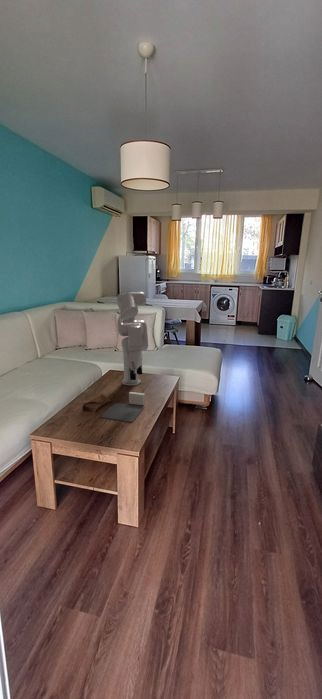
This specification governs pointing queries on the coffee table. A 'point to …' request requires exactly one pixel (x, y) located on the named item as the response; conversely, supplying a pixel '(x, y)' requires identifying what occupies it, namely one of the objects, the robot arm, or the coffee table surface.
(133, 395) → the block
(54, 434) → the coffee table surface
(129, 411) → the mat
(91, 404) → the sunglasses case
